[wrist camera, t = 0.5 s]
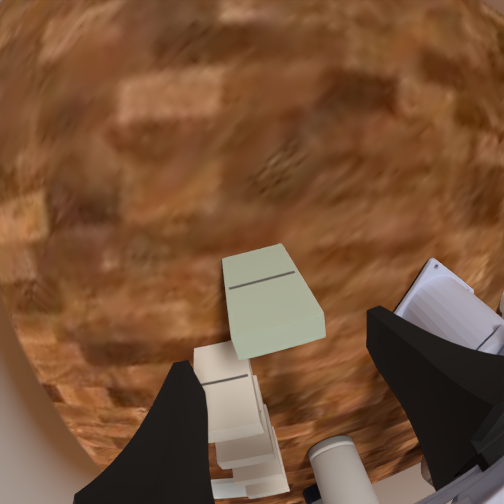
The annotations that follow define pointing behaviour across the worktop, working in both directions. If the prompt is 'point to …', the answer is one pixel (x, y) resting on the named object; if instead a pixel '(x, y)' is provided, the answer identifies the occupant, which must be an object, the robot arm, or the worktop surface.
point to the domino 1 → (269, 303)
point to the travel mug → (340, 472)
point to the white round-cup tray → (502, 306)
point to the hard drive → (226, 488)
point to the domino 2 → (228, 392)
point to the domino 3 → (247, 445)
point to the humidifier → (312, 495)
